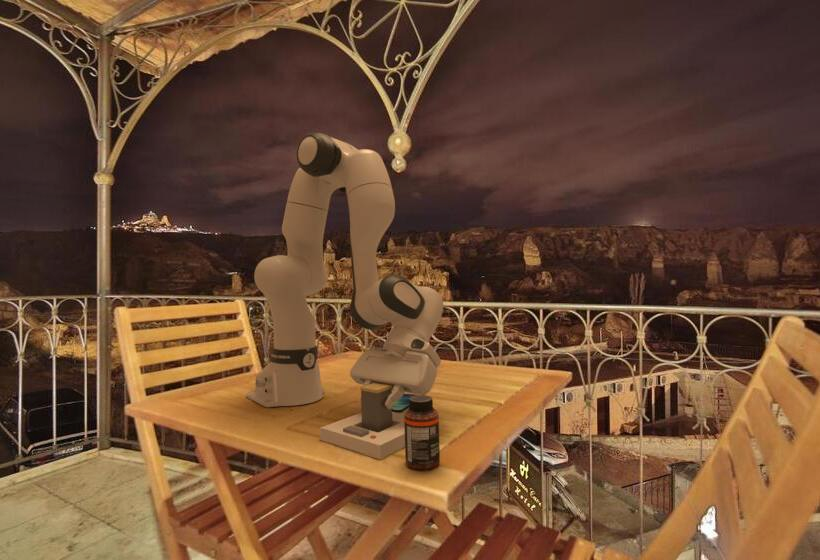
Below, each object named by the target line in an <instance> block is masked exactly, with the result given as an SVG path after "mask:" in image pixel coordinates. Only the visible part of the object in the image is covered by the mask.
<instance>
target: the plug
mask: <svg viewBox="0 0 820 560" xmlns="http://www.w3.org/2000/svg"><path fill="white" fill-rule="evenodd" d="M359 390H360V398H361V400H360V402H361V403H360V404H361V406H360V409H361V410H360V411H361V412H362V427H365V428H369V429H372V430H376V431H379V430H381V429H384V428H386V427H388V426H390V425H392V408H391V409H387V408H384V407H383V406H382V401H383V399H384V397H388V396H389V395H390V394H391V393H392V392H393V390H392V385H387V384H381V383H372V384H369V385H366V386H364V385H363V386H360V387H359Z"/></svg>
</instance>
